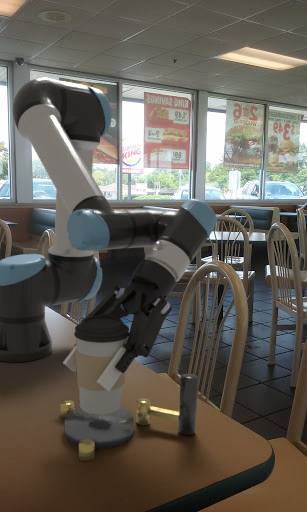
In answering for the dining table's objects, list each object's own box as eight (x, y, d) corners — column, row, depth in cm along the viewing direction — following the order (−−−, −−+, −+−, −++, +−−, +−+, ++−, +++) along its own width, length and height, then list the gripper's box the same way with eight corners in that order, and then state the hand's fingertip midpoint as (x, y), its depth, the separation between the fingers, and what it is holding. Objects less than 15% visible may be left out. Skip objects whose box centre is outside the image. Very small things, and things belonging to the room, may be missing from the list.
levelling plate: (55, 413, 85) (56, 401, 85) (116, 404, 90) (117, 393, 89) (76, 463, 71) (77, 449, 70) (148, 449, 75) (149, 436, 75)
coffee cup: (119, 421, 74) (121, 329, 72) (65, 413, 76) (65, 324, 74) (133, 396, 83) (135, 314, 81) (84, 390, 85) (85, 309, 83)
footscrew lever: (133, 424, 82) (135, 370, 81) (139, 416, 85) (141, 364, 84) (192, 437, 79) (195, 382, 77) (197, 429, 81) (200, 375, 80)
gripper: (111, 250, 90) (37, 346, 82) (195, 266, 75) (113, 388, 66) (132, 274, 95) (63, 368, 87) (215, 295, 79) (140, 412, 71)
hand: (85, 376), depth 76 cm, fingers closed on coffee cup, 9 cm apart
